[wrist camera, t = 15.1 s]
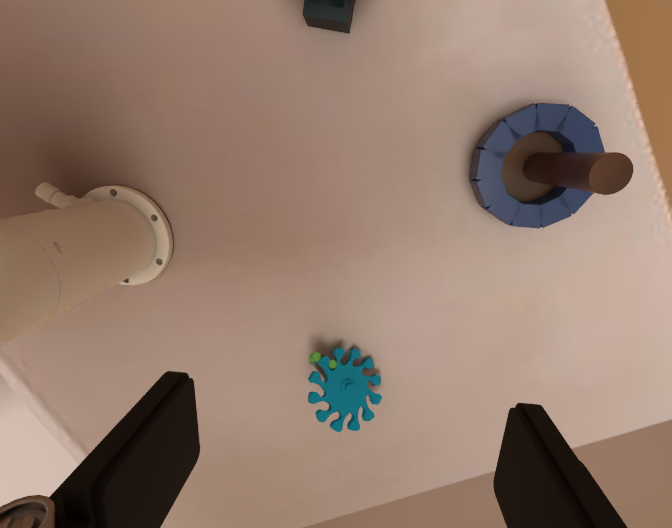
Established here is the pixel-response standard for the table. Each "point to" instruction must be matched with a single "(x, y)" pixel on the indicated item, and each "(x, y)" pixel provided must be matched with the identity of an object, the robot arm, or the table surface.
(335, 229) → the table surface
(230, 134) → the table surface
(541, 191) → the stand
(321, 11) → the ram head statue
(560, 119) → the ring
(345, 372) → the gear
